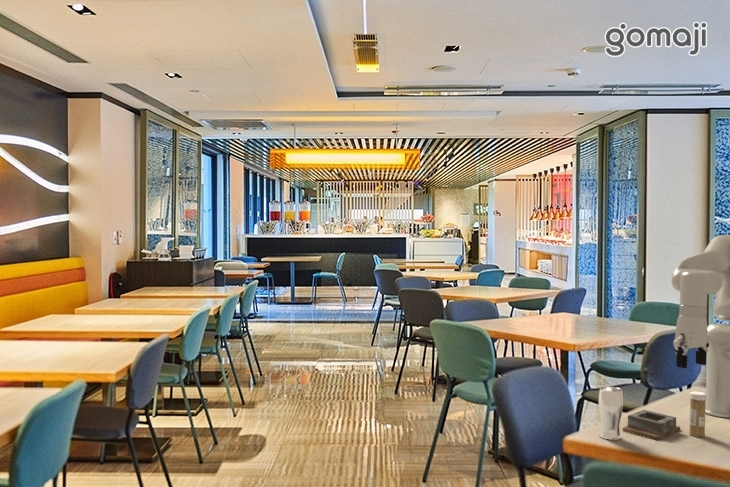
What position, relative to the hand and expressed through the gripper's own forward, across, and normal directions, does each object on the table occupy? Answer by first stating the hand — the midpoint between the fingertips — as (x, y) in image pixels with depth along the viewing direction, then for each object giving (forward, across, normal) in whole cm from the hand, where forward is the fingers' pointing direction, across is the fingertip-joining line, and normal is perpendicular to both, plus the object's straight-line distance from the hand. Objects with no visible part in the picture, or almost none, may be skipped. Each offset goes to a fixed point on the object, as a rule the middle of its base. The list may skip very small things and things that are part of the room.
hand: (691, 365), depth 195 cm
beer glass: (+22, +23, -11) cm, 34 cm away
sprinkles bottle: (+22, -3, +1) cm, 23 cm away
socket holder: (+22, +6, -9) cm, 25 cm away
